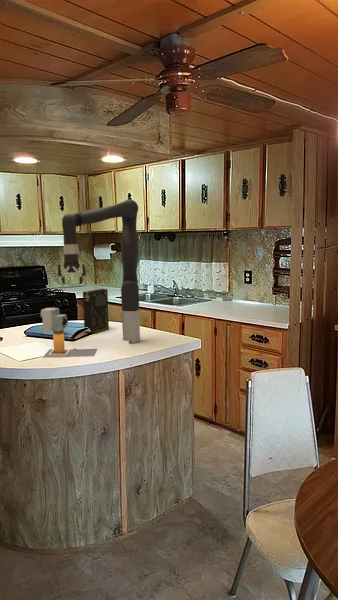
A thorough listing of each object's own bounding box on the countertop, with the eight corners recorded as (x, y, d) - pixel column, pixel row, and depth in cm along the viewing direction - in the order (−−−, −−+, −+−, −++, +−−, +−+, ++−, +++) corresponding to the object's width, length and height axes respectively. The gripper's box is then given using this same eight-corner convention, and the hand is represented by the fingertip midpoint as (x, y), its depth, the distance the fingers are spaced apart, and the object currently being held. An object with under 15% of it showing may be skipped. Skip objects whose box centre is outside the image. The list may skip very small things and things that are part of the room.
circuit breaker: (64, 336, 265) (63, 310, 263) (41, 335, 268) (40, 309, 266) (70, 333, 273) (68, 308, 270) (47, 332, 276) (46, 307, 273)
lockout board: (97, 351, 230) (97, 346, 230) (94, 359, 216) (94, 353, 216) (49, 352, 229) (48, 347, 229) (42, 360, 215) (42, 355, 215)
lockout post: (65, 352, 223) (64, 328, 221) (63, 355, 218) (62, 330, 216) (55, 353, 223) (54, 328, 221) (53, 355, 218) (51, 330, 216)
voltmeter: (93, 334, 268) (91, 291, 265) (82, 332, 273) (80, 291, 269) (110, 329, 282) (109, 288, 278) (99, 328, 286) (98, 288, 282)
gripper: (55, 253, 236) (57, 285, 239) (83, 253, 237) (85, 284, 239) (58, 253, 244) (60, 283, 246) (85, 252, 244) (87, 283, 246)
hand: (72, 284), depth 243 cm, fingers open, 8 cm apart
